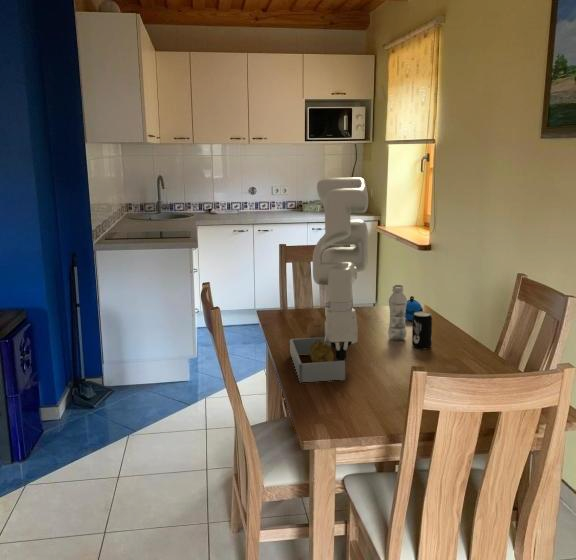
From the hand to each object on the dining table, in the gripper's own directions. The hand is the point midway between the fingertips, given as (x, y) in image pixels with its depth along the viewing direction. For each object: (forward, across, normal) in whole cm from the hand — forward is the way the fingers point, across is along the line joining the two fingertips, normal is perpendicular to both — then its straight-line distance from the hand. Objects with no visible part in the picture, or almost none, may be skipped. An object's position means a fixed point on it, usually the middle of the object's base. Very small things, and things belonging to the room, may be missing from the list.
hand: (341, 360), depth 180 cm
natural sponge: (+2, -4, +20) cm, 21 cm away
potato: (+2, -6, 0) cm, 7 cm away
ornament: (+2, +39, +43) cm, 58 cm away
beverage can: (+2, +31, +12) cm, 34 cm away
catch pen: (+2, -8, 0) cm, 8 cm away
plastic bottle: (+2, +26, +21) cm, 33 cm away
